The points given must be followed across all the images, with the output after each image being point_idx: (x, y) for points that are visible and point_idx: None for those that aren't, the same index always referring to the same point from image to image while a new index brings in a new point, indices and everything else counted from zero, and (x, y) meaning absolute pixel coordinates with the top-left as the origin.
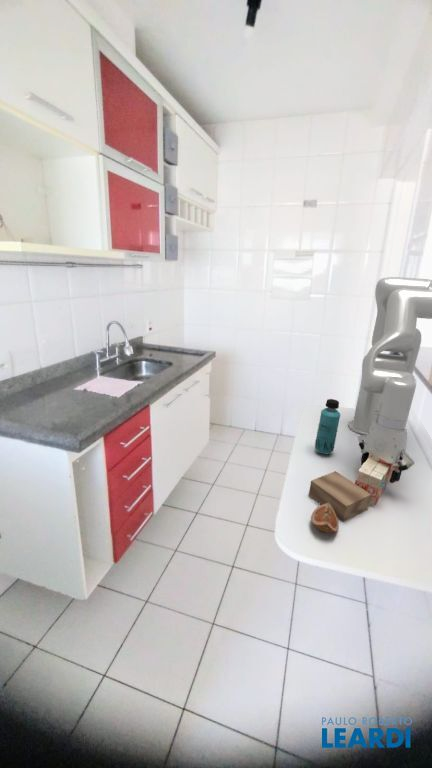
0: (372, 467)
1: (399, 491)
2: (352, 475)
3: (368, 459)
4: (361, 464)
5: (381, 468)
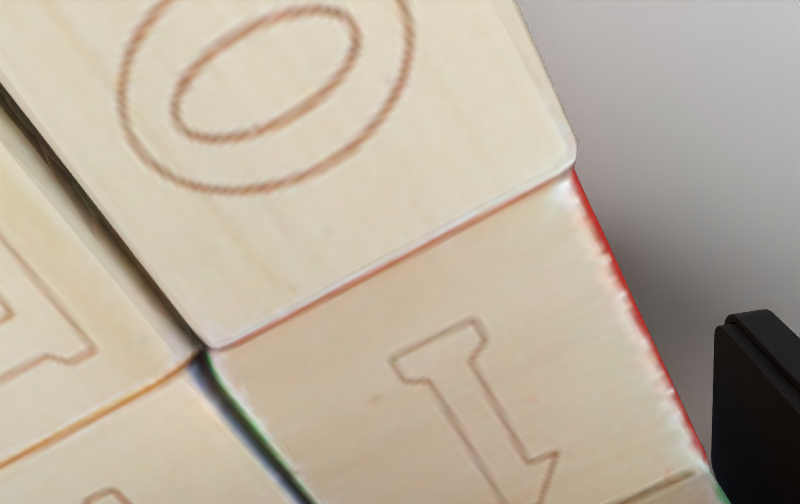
0: (104, 144)
1: None
2: (732, 168)
3: (642, 420)
4: (759, 321)
5: (1, 424)
